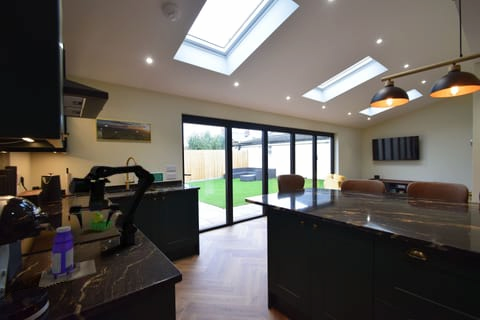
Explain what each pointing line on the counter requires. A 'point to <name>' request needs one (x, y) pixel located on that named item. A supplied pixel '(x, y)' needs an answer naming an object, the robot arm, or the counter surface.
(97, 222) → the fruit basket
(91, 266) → the collar plate
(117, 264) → the counter surface
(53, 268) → the bottle
